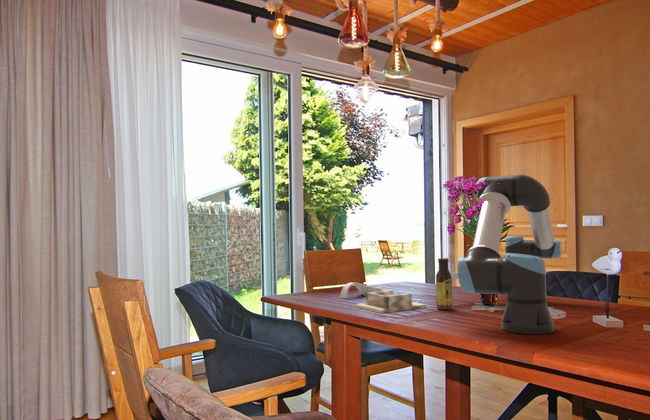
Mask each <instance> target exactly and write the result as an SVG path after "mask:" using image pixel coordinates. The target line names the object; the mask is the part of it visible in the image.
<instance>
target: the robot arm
mask: <svg viewBox="0 0 650 420" xmlns="http://www.w3.org/2000/svg"><path fill="white" fill-rule="evenodd" d="M483 181H485V182H487V183H488V184H486V186H484V187H483V189H482V190H481V189H480V190H479V191H478V192H477V194H476V195H477V196H479V200H480V199H481V200H483V201H484V203H483V204H482V206H481V210H479V211H480V212H479V216H478V221H477V224H476V229H475V234H474V239H473V243H472V247H470V248H469V249H468V250H467V251H466V253H465V256H460V257H459V258H458V259H457V264H456V267H457V268H456V269H457V271H456V272H450V275H451V277H452V280H458V284H459V287H460V289H461V290H462V292H464V293H471V294H485V295H486V294H487V295H488V294H489V295H490V294H491V295H505V296H506V305H505V308H504V312H503V315H502V318H501V330H504V331H506V332H510V333H514V334H523V335H524V334H525V335H545V334H547V335H548V334H550V333H551V334H552V333H554V332H555V323H554V320H553V317H552V314H551V313H550V309H549V307H548V302H547V301H548V300H547V299H548V298H547V295H548V294H547V279H546V276H547V271H546V262H545V260H544V259H560V257H562V243H561V240H556V239H555V237H554V232H553V231H554V230H553V226H552V221H551V214H550V208H549V207H550V204H551V199H550V194H549V192H548V190H547V189H546V187H545V186H544V185H543V184H542V183H541V182H540V181H538V180H537V179H535V178H534V177H532V176H529V175H526V174H516V175H514V174H513V175H512V174H511V175H497V176H487V177H481V178H479V179H478V181H477V182H476V184H480V182H481V183H483ZM498 183H501V184H498ZM501 206H502V207H501ZM498 207H500V208H498ZM511 207H523V209H524V210H525V211H527V215H528V218H529V219H528V220H529V224H530V228H531V233H532V237H533V240H532V239H529V240H528V239H525V238H524V236H521V235H509V236H506V237H505V240H504V241H508V240H510V241H508V242H504V243H505V246H504V250H505V254H504V256H503V257H502V256H501V254H500V253H499V251H500V246H501V245H500V244H501V239H502V233H503V227H504V222H505V215H506V214H508V212H509V211H510V210H511ZM519 242H520V243H519Z"/></svg>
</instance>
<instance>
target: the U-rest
mask: <svg viewBox="0 0 650 420" xmlns="http://www.w3.org/2000/svg"><path fill="white" fill-rule="evenodd" d="M412 297H413V296H412V293H402V294H395V295H394V291H393V290H391V289H390V290H381V291H380V292H370V293H366V296H365V298H366V299H365V300H366V301H365V302H362V303H356V304H355V307H356V308H358V309H362V310H366V311H371V312H374V313H378V314H386V313H387V314H388V313H394V312H401V311H402V312H403V311H409V310H417V309H425V308H427V305H426V304H425V303H419V302H415V301H412V300H413V298H412Z"/></svg>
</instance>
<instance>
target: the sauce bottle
mask: <svg viewBox="0 0 650 420" xmlns="http://www.w3.org/2000/svg"><path fill="white" fill-rule="evenodd" d="M449 261H450V260H449V258H448V257H447V258H446V257H441V258H438V259H437V262H438V271H437V272H436V275H435V302H436V303H435V305H436V309H438V310H443V311H444V310H452V309H453V279H452V277H451V275H450V273H451V272H450V270H449V269H450V268H449Z"/></svg>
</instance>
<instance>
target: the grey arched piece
mask: <svg viewBox="0 0 650 420" xmlns="http://www.w3.org/2000/svg"><path fill="white" fill-rule="evenodd" d="M353 286H354V287H356V289H357V290H358V292H359V293H361V294H362V295H363V296H365V297H366V293H370V292H380V291H383V287H378V286H370V285H369V286H368V285H366V284H365V283H364V284H363V283H360V282H353V281H352V282H347V283H346V284H345V285H344V286H343V287H342V289H341V292H340V299H344V300H348V299H349V289H350V288H351V287H353Z"/></svg>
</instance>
